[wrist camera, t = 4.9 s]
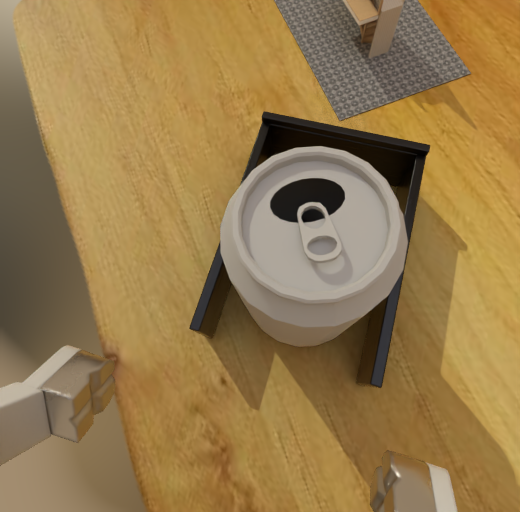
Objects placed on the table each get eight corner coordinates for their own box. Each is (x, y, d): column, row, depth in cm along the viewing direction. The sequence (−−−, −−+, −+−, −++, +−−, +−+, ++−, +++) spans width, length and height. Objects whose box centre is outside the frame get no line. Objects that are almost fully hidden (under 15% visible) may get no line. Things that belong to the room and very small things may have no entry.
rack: (365, 386, 22) (384, 388, 18) (204, 336, 24) (186, 327, 20) (407, 181, 26) (430, 144, 22) (267, 150, 28) (263, 110, 24)
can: (341, 228, 26) (386, 110, 14) (372, 335, 23) (456, 295, 12) (237, 250, 26) (198, 149, 14) (257, 358, 23) (229, 342, 12)
